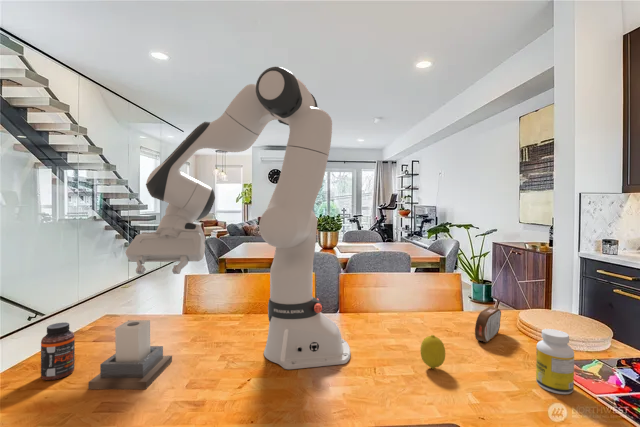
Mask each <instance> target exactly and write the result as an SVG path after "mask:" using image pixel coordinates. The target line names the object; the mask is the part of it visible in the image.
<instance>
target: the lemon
mask: <svg viewBox="0 0 640 427" xmlns="http://www.w3.org/2000/svg"><path fill="white" fill-rule="evenodd" d="M420 356H421V360H422V362H424V364H425V365H426V366H428V367H430V369H431V368H432V369H431V370H434V369H436V368H439V367H441V366H442V365H443V363H444V362H445V360H446V348H445V345H444V343H443V341H442V340H441V339H440V338H438V336H435V335H434V334H431V335H429V336H426V337H424V338H423V340H422V341H421V345H420Z"/></svg>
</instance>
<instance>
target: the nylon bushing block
mask: <svg viewBox="0 0 640 427" xmlns="http://www.w3.org/2000/svg"><path fill="white" fill-rule="evenodd" d="M114 332H115V333H114V334H115V336H114V337H115V338H114V339H115V341H114V342H115V353H116V362H141V361H142V360H143V359H145V358H146V357H147V356H148V355H149V354H150V346H151V320H150V319H148V320H147V319H146V320H145V319H141V320H139V319H138V320H137V319H135V320H134V319H129V320H127V321H125V322H124V323H122V324H119V325H118V326H116V327H115V331H114Z"/></svg>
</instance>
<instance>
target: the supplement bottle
mask: <svg viewBox="0 0 640 427" xmlns="http://www.w3.org/2000/svg"><path fill="white" fill-rule="evenodd" d="M75 336H76V335H75V333H74V332H73V331H71V330H70V323H69V322H66V321H65V322H56V323H52V324H50V325H48V326H46V334H45V335H44V336H43V337H42V338H41V339H40V340H41V341H40V378H41V379H42V380H44V381H54V380H60V379H62V378H65V377H68V376H69V375H71V374H72V373H73V372H74V371H75V364H76V362H75V361H76V358H75V357H76V356H75V347H76V346H75V344H76V342H75V341H76V340H75Z"/></svg>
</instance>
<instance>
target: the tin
mask: <svg viewBox="0 0 640 427" xmlns="http://www.w3.org/2000/svg"><path fill="white" fill-rule="evenodd" d="M501 316H502V312H501V309H500V308H497V307H493V306H490V305H489V306H488V307H487V308H485V309H483V310H482V311H480V312H479V313H478V316H477V318H476V322H475V326H474V337H475V340H476V341H480V342H482V341H483V343H489V342H490V341H491V340H492V339H494V338H495V337H496V336H497V335H498V333H499V331H500V328H501V318H502V317H501ZM496 334H497V335H496ZM495 335H496V336H495ZM494 336H495V337H494ZM491 338H492V339H491ZM490 339H491V340H490ZM489 340H490V341H489ZM488 341H489V342H488Z"/></svg>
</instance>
